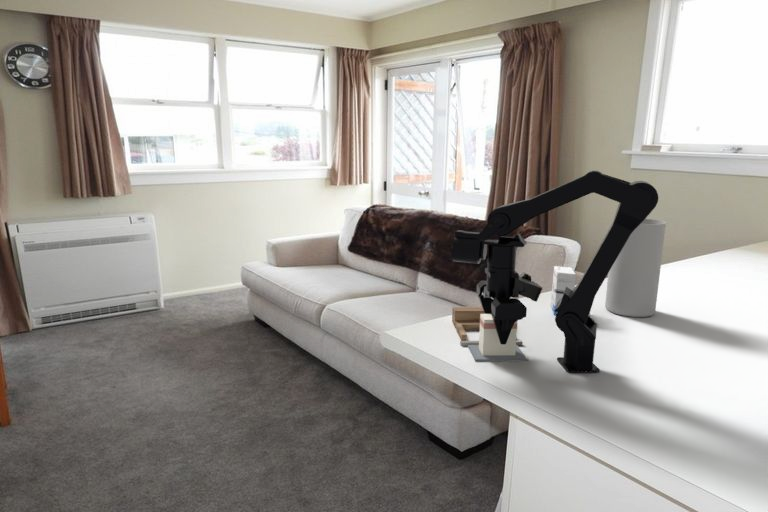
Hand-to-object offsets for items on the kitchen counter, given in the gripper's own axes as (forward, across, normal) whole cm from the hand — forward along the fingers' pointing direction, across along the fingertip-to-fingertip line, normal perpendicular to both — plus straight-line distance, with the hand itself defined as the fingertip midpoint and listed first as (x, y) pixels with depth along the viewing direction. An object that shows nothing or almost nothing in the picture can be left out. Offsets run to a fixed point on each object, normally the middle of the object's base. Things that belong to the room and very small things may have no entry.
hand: (497, 336), depth 110 cm
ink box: (+4, +29, -25) cm, 39 cm away
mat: (+4, 0, 0) cm, 4 cm away
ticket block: (+4, 0, 0) cm, 4 cm away
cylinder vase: (+4, +29, -44) cm, 53 cm away
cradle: (+4, +13, 0) cm, 13 cm away
